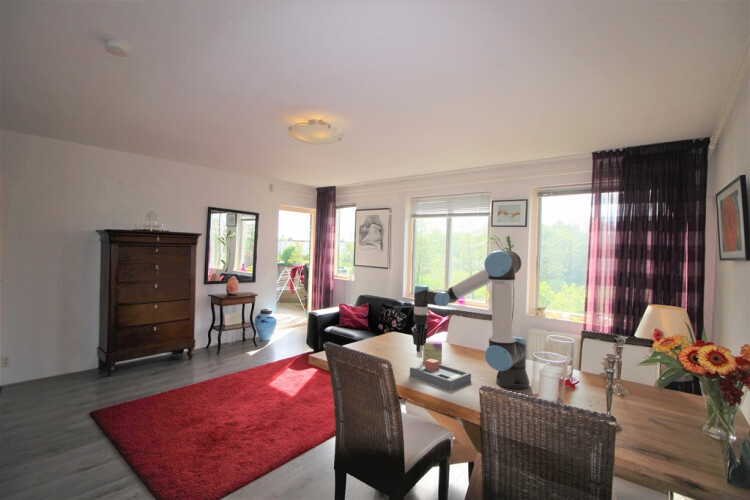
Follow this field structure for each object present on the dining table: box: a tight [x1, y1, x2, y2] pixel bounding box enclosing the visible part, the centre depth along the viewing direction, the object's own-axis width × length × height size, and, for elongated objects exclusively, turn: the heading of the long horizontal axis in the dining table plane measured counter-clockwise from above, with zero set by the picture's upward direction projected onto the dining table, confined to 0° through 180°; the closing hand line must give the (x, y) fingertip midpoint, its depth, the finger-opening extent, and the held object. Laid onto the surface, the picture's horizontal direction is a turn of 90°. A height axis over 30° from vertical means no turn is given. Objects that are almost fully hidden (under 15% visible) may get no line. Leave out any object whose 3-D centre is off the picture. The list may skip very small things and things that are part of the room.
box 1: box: [422, 340, 443, 365], centre depth 204 cm, size 10×6×12 cm, turn 84°
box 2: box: [409, 364, 472, 391], centre depth 179 cm, size 25×17×4 cm
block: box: [424, 359, 439, 371], centre depth 186 cm, size 6×5×4 cm
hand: (419, 357), depth 193 cm, fingers closed
